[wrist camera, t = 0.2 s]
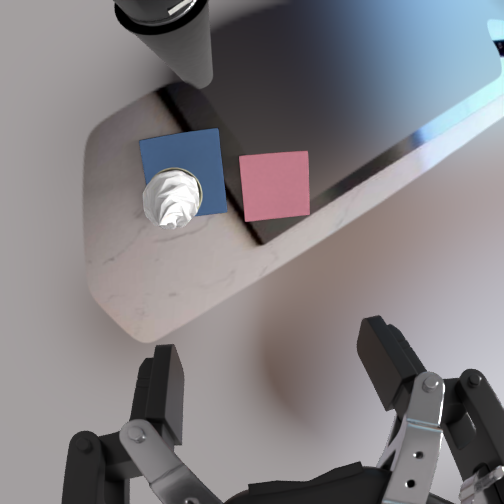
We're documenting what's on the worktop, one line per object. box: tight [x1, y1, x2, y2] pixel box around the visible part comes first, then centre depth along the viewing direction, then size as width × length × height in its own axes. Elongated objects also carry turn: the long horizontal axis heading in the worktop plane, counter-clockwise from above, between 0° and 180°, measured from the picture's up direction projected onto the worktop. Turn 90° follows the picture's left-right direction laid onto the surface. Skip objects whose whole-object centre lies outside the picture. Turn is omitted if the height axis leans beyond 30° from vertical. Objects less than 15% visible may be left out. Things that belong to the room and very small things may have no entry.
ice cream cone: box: [142, 168, 202, 229], centre depth 26 cm, size 5×5×15 cm
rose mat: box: [239, 151, 309, 222], centre depth 34 cm, size 8×8×1 cm
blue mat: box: [139, 128, 227, 216], centre depth 32 cm, size 10×9×1 cm
